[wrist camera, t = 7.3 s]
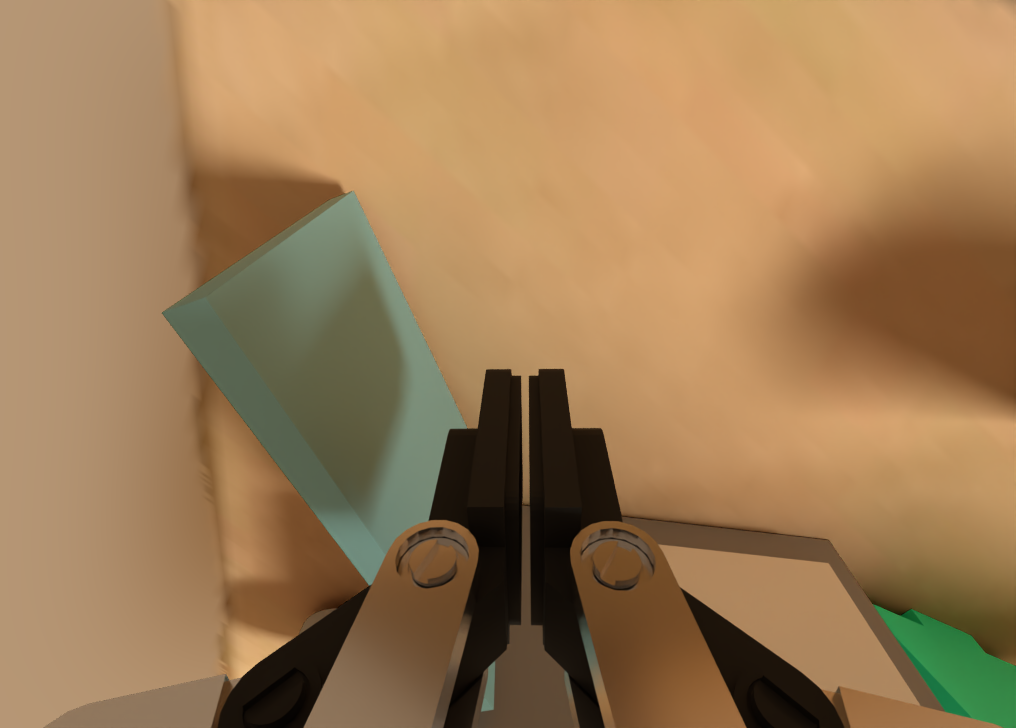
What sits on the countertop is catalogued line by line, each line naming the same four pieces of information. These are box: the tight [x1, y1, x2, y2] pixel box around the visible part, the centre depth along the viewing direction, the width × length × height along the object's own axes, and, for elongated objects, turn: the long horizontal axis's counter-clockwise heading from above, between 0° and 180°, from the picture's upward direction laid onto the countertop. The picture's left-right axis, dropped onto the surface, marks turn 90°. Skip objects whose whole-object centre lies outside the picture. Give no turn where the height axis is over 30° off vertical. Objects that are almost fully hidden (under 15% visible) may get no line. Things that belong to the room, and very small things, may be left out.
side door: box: [162, 191, 495, 712], centre depth 14 cm, size 13×1×8 cm, turn 19°
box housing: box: [478, 505, 945, 728], centre depth 21 cm, size 16×11×9 cm
